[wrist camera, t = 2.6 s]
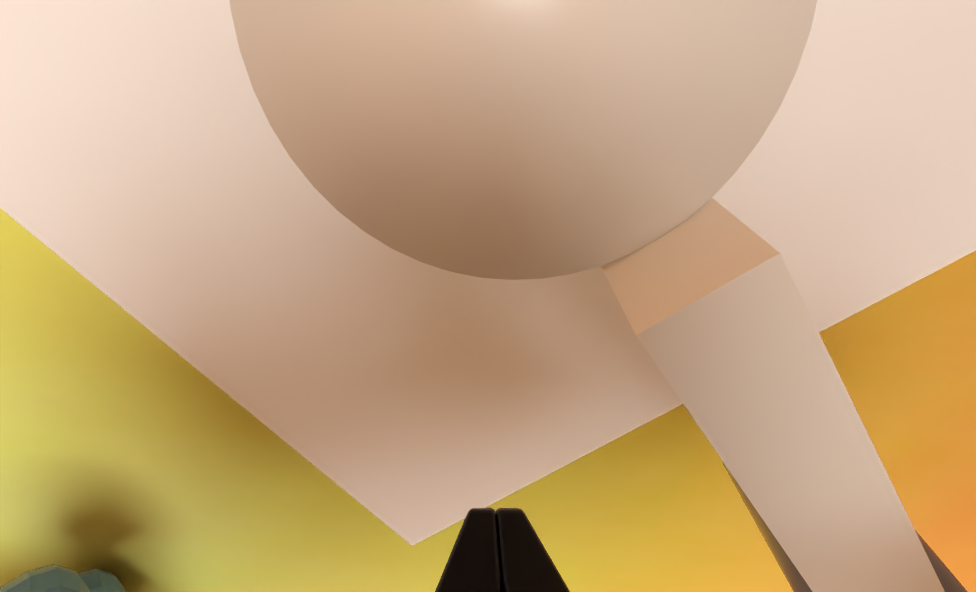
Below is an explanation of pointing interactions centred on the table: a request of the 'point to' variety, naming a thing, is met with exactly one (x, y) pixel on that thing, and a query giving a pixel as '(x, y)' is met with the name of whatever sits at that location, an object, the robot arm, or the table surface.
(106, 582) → the grapes
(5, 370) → the table surface
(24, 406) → the table surface
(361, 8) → the lock lever
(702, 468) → the table surface
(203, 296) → the lock base
